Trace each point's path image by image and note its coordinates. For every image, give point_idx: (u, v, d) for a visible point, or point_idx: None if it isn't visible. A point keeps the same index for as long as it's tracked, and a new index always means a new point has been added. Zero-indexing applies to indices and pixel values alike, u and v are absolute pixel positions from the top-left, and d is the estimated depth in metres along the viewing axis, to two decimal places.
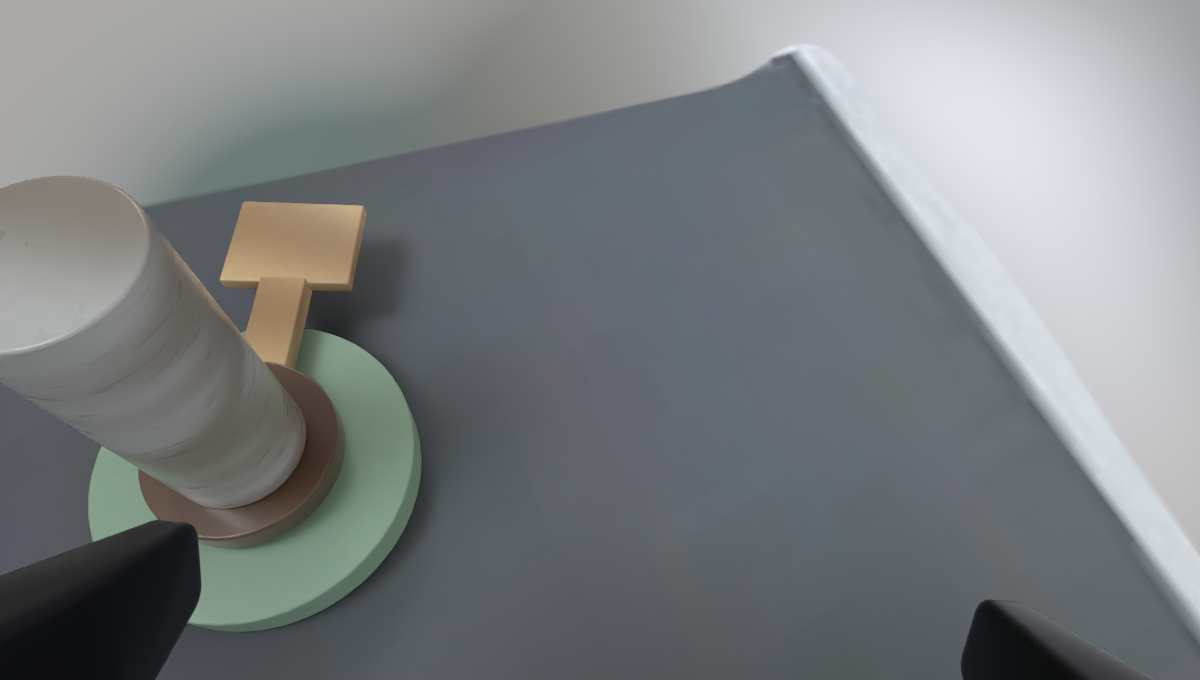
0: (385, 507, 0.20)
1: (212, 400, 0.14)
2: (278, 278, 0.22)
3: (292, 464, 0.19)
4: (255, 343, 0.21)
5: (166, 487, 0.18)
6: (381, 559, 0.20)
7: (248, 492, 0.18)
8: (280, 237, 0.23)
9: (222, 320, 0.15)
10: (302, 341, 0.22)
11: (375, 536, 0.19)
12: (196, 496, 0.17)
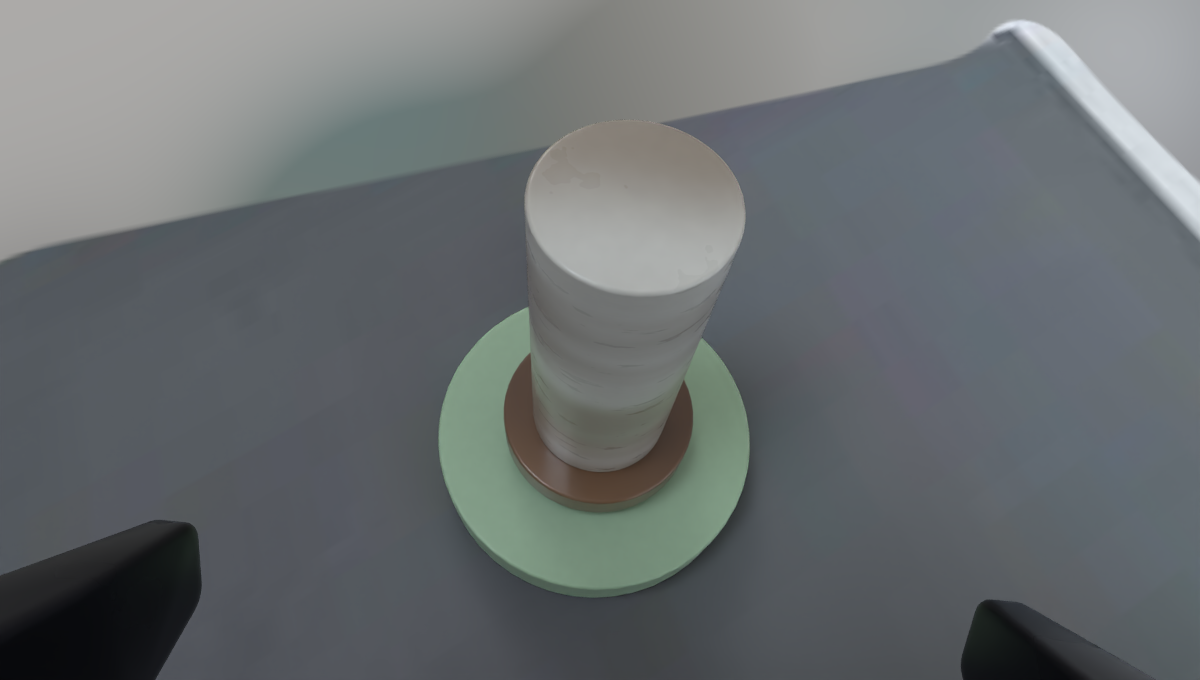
0: (733, 474, 0.20)
1: (693, 355, 0.14)
2: None
3: None
4: None
5: (539, 450, 0.18)
6: None
7: (636, 455, 0.18)
8: None
9: None
10: None
11: (729, 503, 0.19)
12: (595, 458, 0.17)
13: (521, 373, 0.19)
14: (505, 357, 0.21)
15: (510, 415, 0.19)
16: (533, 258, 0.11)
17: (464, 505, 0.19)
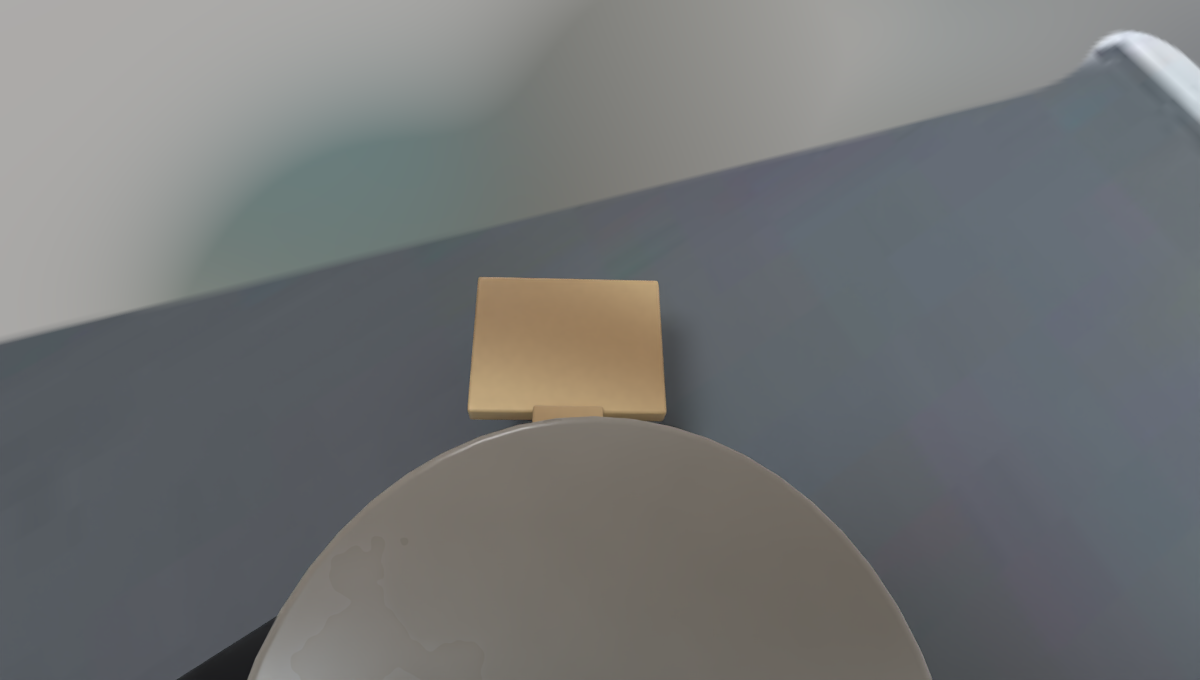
0: None
1: None
2: (562, 408, 0.14)
3: None
4: None
5: None
6: None
7: None
8: (546, 335, 0.15)
9: None
10: None
11: None
12: None
13: None
14: None
15: None
16: None
17: None
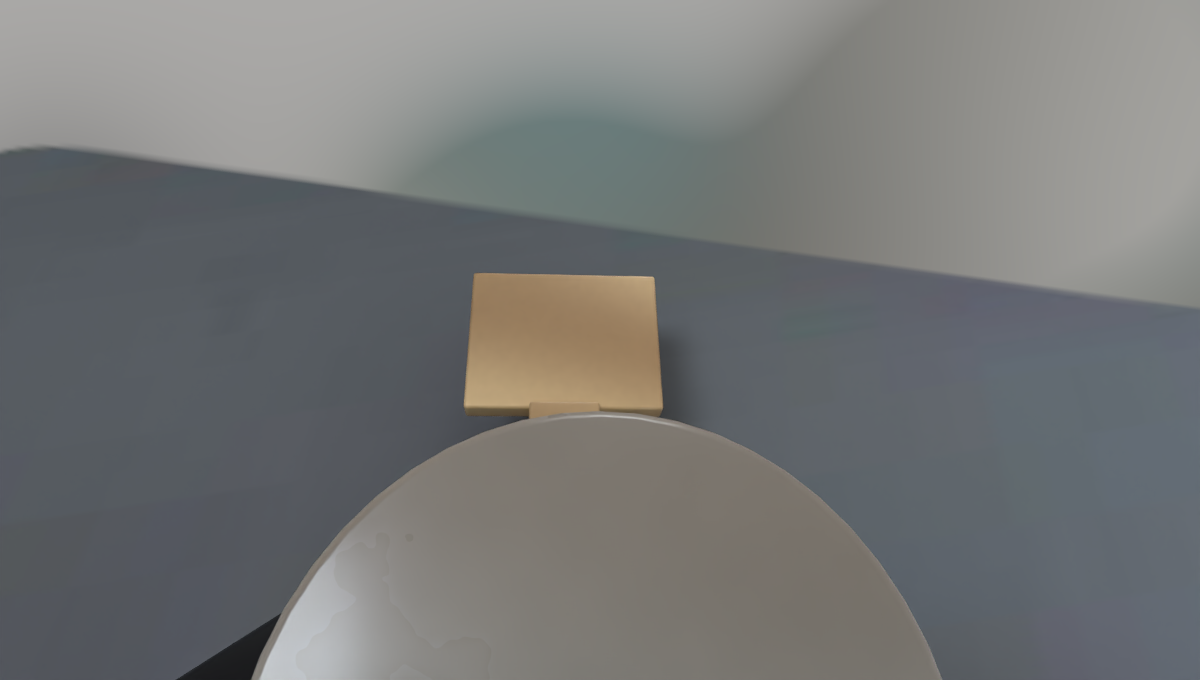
0: None
1: None
2: (559, 404, 0.14)
3: None
4: None
5: None
6: None
7: None
8: (542, 331, 0.15)
9: None
10: None
11: None
12: None
13: None
14: None
15: None
16: None
17: None
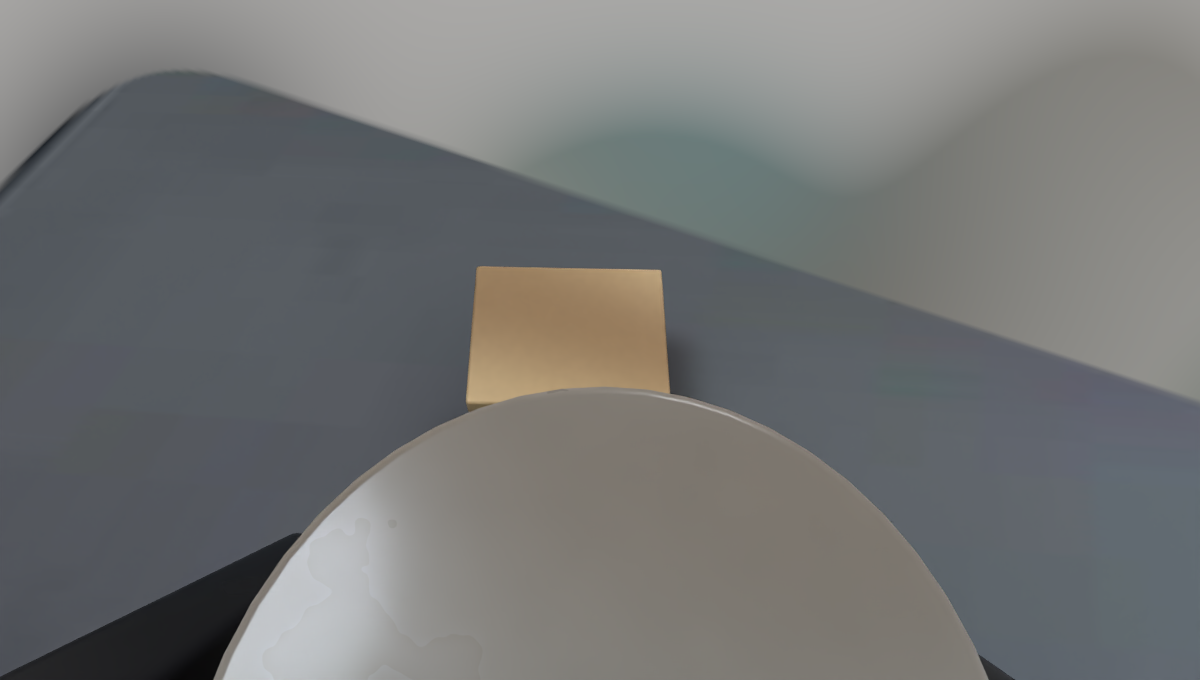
0: None
1: None
2: None
3: None
4: None
5: None
6: None
7: None
8: (547, 326, 0.14)
9: None
10: None
11: None
12: None
13: None
14: None
15: None
16: None
17: None
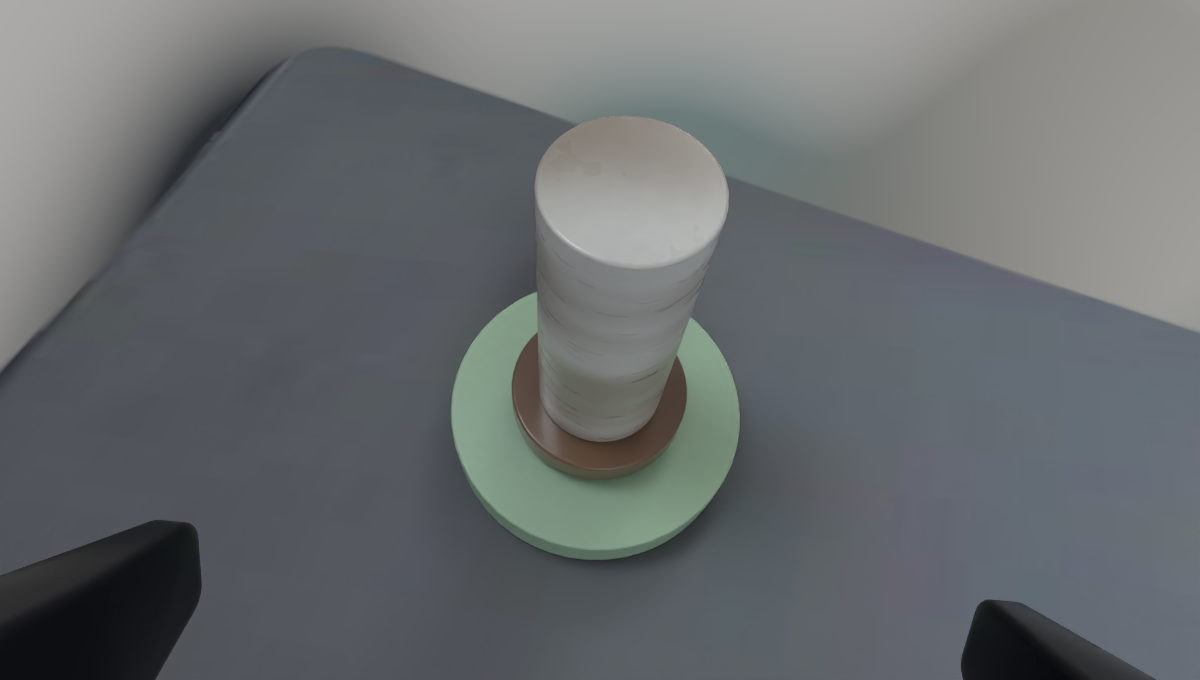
0: (669, 517, 0.20)
1: (684, 328, 0.16)
2: None
3: (659, 402, 0.20)
4: None
5: (545, 422, 0.20)
6: (633, 553, 0.21)
7: (634, 425, 0.19)
8: None
9: None
10: (686, 330, 0.23)
11: (647, 535, 0.20)
12: (597, 427, 0.19)
13: (527, 352, 0.21)
14: None
15: (518, 391, 0.20)
16: (542, 237, 0.13)
17: (460, 384, 0.22)
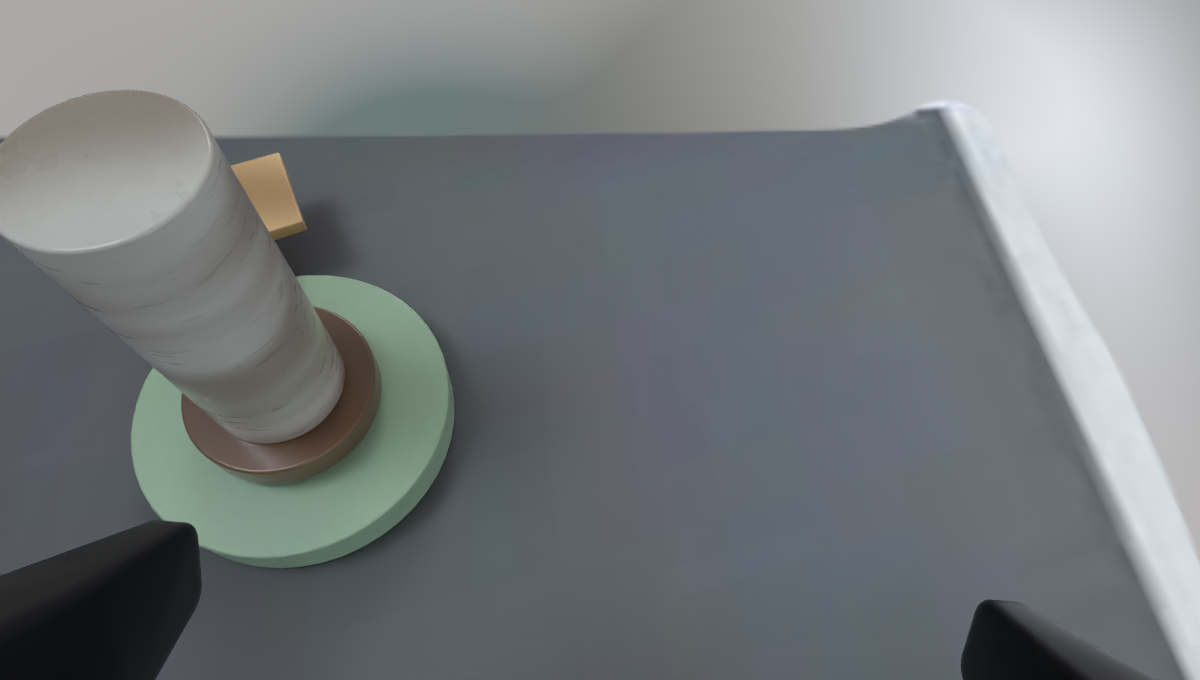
0: (400, 479, 0.20)
1: (282, 292, 0.15)
2: None
3: (342, 375, 0.19)
4: None
5: (230, 443, 0.19)
6: (386, 529, 0.20)
7: (317, 408, 0.18)
8: None
9: None
10: (367, 297, 0.22)
11: (383, 505, 0.19)
12: (273, 425, 0.18)
13: None
14: None
15: (191, 424, 0.19)
16: (22, 253, 0.12)
17: (138, 443, 0.20)
